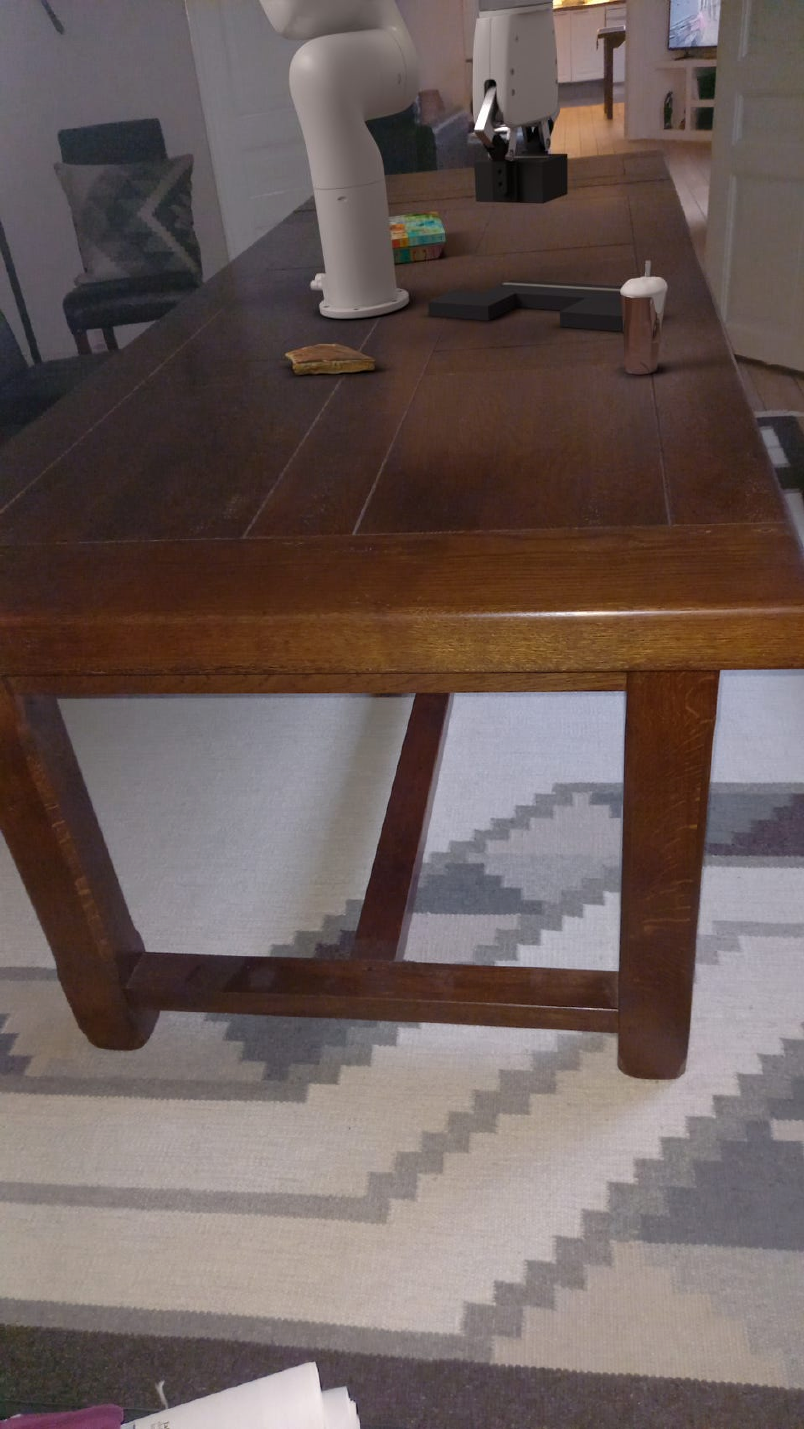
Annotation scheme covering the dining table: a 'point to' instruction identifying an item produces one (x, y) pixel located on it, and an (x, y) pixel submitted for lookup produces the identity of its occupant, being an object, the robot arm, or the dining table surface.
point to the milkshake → (642, 321)
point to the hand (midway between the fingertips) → (520, 194)
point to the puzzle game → (417, 237)
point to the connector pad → (528, 178)
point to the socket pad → (537, 303)
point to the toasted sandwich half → (329, 359)
